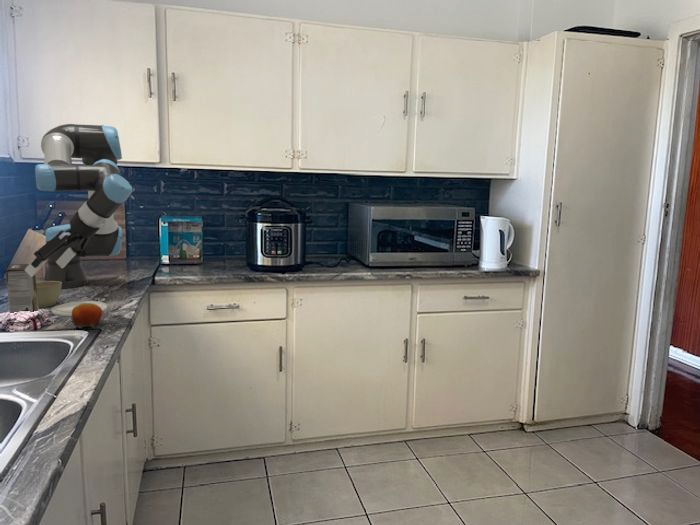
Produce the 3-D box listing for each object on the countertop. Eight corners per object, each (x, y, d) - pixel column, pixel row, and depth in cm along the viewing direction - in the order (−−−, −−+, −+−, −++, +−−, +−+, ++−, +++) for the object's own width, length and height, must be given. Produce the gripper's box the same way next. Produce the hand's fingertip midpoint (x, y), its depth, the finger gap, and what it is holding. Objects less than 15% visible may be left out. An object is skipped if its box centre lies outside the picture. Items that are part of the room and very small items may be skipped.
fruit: (70, 328, 151) (70, 300, 154) (73, 335, 158) (72, 309, 160) (102, 325, 154) (101, 298, 157) (103, 332, 161) (102, 306, 164)
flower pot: (55, 299, 188) (54, 279, 187) (68, 304, 182) (67, 283, 181) (24, 305, 180) (22, 284, 179) (36, 310, 174) (34, 288, 173)
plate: (72, 303, 184) (71, 299, 184) (116, 305, 182) (116, 301, 182) (40, 315, 169) (39, 310, 168) (88, 317, 167) (87, 313, 166)
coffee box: (15, 315, 168) (11, 264, 165) (39, 313, 170) (35, 263, 168) (9, 323, 160) (4, 269, 157) (34, 321, 162) (30, 268, 159)
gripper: (71, 233, 144) (23, 286, 148) (121, 224, 169) (79, 270, 173) (51, 213, 144) (4, 267, 148) (104, 207, 168) (62, 253, 173)
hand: (44, 269), depth 161 cm, fingers open, 13 cm apart
